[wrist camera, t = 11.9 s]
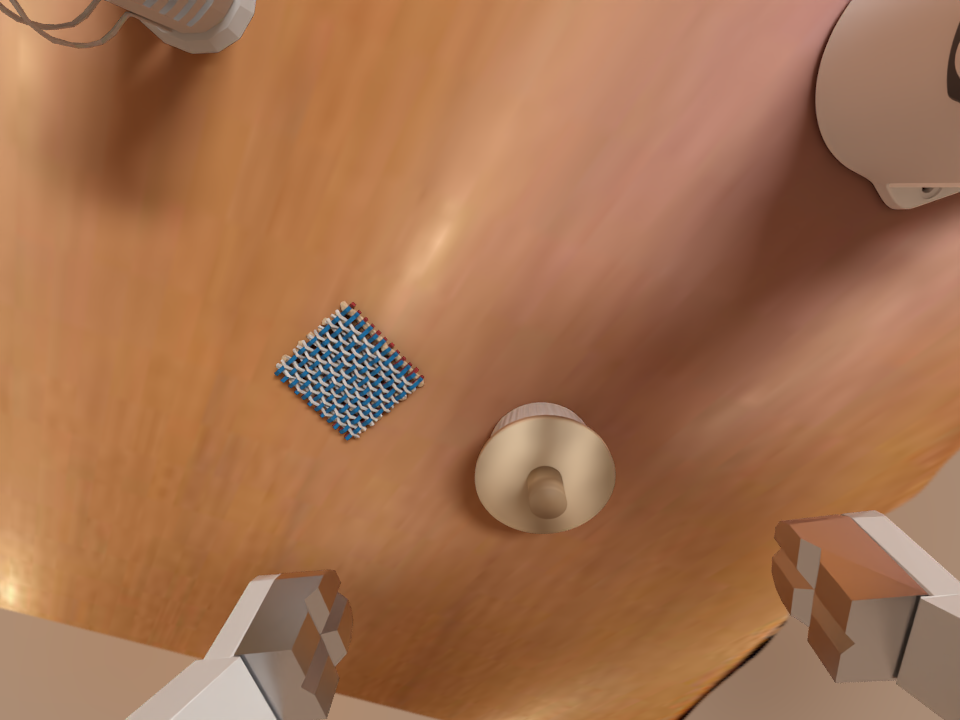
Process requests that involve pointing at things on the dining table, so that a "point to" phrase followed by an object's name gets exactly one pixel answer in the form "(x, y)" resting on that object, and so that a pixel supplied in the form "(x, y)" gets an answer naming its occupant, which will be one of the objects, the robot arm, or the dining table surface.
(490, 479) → the drop lid
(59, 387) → the dining table surface
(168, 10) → the french press
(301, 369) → the woven mat
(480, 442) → the dining table surface
